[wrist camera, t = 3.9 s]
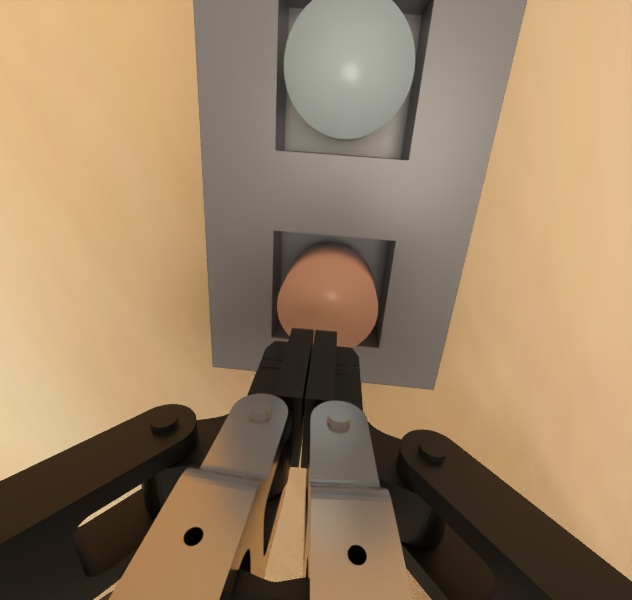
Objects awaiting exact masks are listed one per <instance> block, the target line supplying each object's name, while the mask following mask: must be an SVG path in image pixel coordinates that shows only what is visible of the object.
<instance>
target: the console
mask: <svg viewBox="0 0 632 600" xmlns="http://www.w3.org/2000/svg"><path fill="white" fill-rule="evenodd" d="M311 1H312V0H193V6H194V25H195V44H196V62H197V81H198V100H199V118H200V137H201V156H202V175H203V193H204V212H205V231H206V249H207V268H208V287H209V306H210V324H211V343H212V362H213V367H220V368H229V369H239V370H249V371H257V369H258V368H259V364H260V361H261V360H262V356H263V354H264V351H265V348H267V347H268V346H269V345H270V344H272V343H273V342H274V341H283V342H288V340H289V335H288V334H287V333H286V332H285V330H284V329H283V327H282V325H281V323H280V320H279V317H278V312H277V300H278V295H279V292H280V289H281V287H282V285H283V283H284V281H285V279H286V276H287V274H288V272H289V270H290V268H291V266H292V264H293V263H294V261H295V260H296V258H297V257H298V256H299V255H300V254H301V253H303V252H304V251H305V250H307V249H309V248H311V247H313V246H316V245H319V244H325V243H335V244H341V245H344V246H347V247H349V248H351V249H353V250H355V251H356V252H358V253H359V254H360V255H361V256H362V257H363V258H364V259H365V261H366V262H367V263H368V265H369V267H370V269H371V272H372V275H373V280H374V285H375V290H376V295H377V300H378V316H377V320H376V323H375V325H374V327H373V329H372V331H371V332H370V334H369V335H368V336H367V337H366V338H365V339H364V340H363V341H362V342H361V343H360V344H358V345H357V346H355V347H353V350H354V351H355V352H356V354H357V355H358V356H359V364H360V378H361V382H363V383H373V384H382V385H392V386H401V387H411V388H420V389H430V390H434V387H435V382H436V378H437V374H438V370H439V366H440V362H441V357H442V353H443V349H444V345H445V341H446V337H447V332H448V328H449V324H450V320H451V316H452V312H453V307H454V303H455V299H456V295H457V291H458V287H459V282H460V278H461V274H462V270H463V266H464V262H465V257H466V253H467V249H468V245H469V241H470V237H471V232H472V228H473V224H474V220H475V216H476V212H477V207H478V203H479V199H480V195H481V191H482V187H483V182H484V178H485V174H486V170H487V166H488V162H489V157H490V153H491V149H492V145H493V141H494V137H495V132H496V128H497V124H498V120H499V116H500V112H501V107H502V103H503V99H504V95H505V91H506V87H507V82H508V78H509V74H510V70H511V66H512V62H513V57H514V53H515V49H516V45H517V41H518V37H519V32H520V28H521V24H522V20H523V16H524V12H525V7H526V3H527V0H392V1H393V2H394V3H395V4H396V5H397V6H398V8H399V9H400V10H401V12H402V13H403V15H404V16H405V18H406V20H407V22H408V24H409V27H410V29H411V32H412V36H413V40H414V47H415V69H414V75H413V80H412V84H411V87H410V90H409V92H408V94H407V97H406V99H405V101H404V102H403V104H402V106H401V107H400V109H399V110H398V111H397V113H396V114H395V115H394V116H393V117H392V118H391V119H390V120H389V121H388V122H387V123H386V124H385V125H383V126H382V127H381V128H379V129H378V130H376V131H374V132H373V133H371V134H369V135H367V136H365V137H363V138H359V139H355V140H338V139H334V138H330V137H328V136H326V135H324V134H322V133H320V132H319V131H317V130H316V129H314V128H313V127H311V126H310V125H309V124H308V123H307V122H306V121H305V120H304V119H303V118H302V117H301V116H300V115H299V113H298V112H297V110H296V109H295V107H294V105H293V103H292V101H291V99H290V96H289V94H288V91H287V87H286V83H285V77H284V53H285V48H286V43H287V40H288V37H289V34H290V31H291V29H292V27H293V25H294V23H295V21H296V19H297V18H298V16H299V15H300V13H301V12H302V11H303V9H304V8H305V7H306V6H307V5H308V4H309V3H310V2H311Z"/></svg>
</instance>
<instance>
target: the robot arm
mask: <svg viewBox="0 0 632 600" xmlns="http://www.w3.org/2000/svg"><path fill="white" fill-rule="evenodd" d="M313 338H314V343H313ZM302 438H303V441H302ZM301 445H302V457H301V468H307V475H306V489H305V511H304V548H303V578H299V579H293V580H287V581H282V582H270V581H267V580H265V579H264V577H265V571H266V566H267V562H268V558H269V554H270V550H271V546H272V542H273V538H274V534H275V530H276V527H277V523H278V519H279V515H280V511H281V507H282V503H283V499H284V495H285V486H286V484H287V481H288V476H289V470H290V467H299V460H300V452H301ZM140 484H141V486H142V489H140V490H139V491H137V492H135V493H134V494H132V495H131V496H129V497H127V498H126V499H124V500H123V501H121V502H119V503H118V504H116V505H115V506H113V507H111V508H110V509H108V510H106V511H105V512H103V513H102V514H100V515H98V516H97V517H95V518H94V519H92V520H90V521H89V522H87V523H86V524H84V525H82V526H80V527H78V526H79V525H80V524H81V522H82V521H83V520H84V519H86V518H87V517H88V516H90V515H91V514H93V513H94V512H96V511H98V510H99V509H101V508H102V507H104V506H106V505H107V504H109V503H111V502H112V501H114V500H116V499H117V498H119V497H120V496H122V495H124V494H125V493H127V492H129V491H130V490H132V489H134V488H135V487H137V486H138V485H140ZM77 527H78V528H77ZM406 568H407V569H408V571H409V572H410V573H411V574H412V576H413V577H414V578H415V579H416V581H417V582H418V583H419V584H420V586H421V587H422V588H423V589H424V590H425V592H426V593H427V594H428V595H429V597H430V598H431V599H432V600H632V581H630V580H629V579H628V578H627V577H625V576H624V575H623V574H621V573H620V572H619V571H618V570H616V569H615V568H614V567H612V566H611V565H610V564H609V563H607V562H606V561H605V560H604V559H602V558H601V557H600V556H598V555H597V554H596V553H595V552H593V551H592V550H591V549H590V548H588V547H587V546H586V545H584V544H583V543H582V542H581V541H579V540H578V539H577V538H575V537H574V536H573V535H572V534H570V533H569V532H568V531H567V530H565V529H564V528H563V527H561V526H560V525H559V524H558V523H556V522H555V521H554V520H553V519H551V518H550V517H549V516H547V515H546V514H545V513H544V512H542V511H541V510H540V509H538V508H537V507H536V506H535V505H533V504H532V503H531V502H530V501H528V500H527V499H526V498H524V497H523V496H522V495H521V494H519V493H518V492H517V491H515V490H514V489H513V488H512V487H510V486H509V485H508V484H507V483H505V482H504V481H503V480H501V479H500V478H499V477H498V476H496V475H495V474H494V473H493V472H491V471H490V470H489V469H487V468H486V467H485V466H484V465H482V464H481V463H480V462H478V461H477V460H476V459H475V458H473V457H472V456H471V455H470V454H468V453H467V452H466V451H464V450H463V449H462V448H461V447H459V446H458V445H457V444H455V443H454V442H453V441H452V440H450V439H449V438H447V437H446V436H444V435H442V434H440V433H437V432H434V431H430V430H414V431H411V432H409V433H407V434H406V435H405V436H404V437H403V438H402V440H401V439H398V438H395V437H393V436H390V435H387V434H385V433H383V432H381V431H379V430H377V429H376V428H374V427H373V426H372V425H371V424H370V423H369V422H368V421H367V418H366V416H365V414H364V413H363V407H362V392H361V378H360V364H359V356H358V355H357V354H356V352H355V351H354V350H353V348H350V347H339V346H337V331H326V330H315V337H314V329H302V328H292V330H291V333H290V337H289V340H288V342H283V341H274V342H273V343H272V344H270V345H269V346H268V347H267V348H265V351H264V354H263V356H262V360H261V361H260V364H259V368H258V369H257V372H256V374H255V377H254V380H253V382H252V385H251V388H250V390H249V393H248V395H247V396H246V397H244V398H242V399H240V400H239V401H237V402H236V403H235V405H234V406H233V407H232V409H231V411H230V413H229V414H227V415H225V416H221V417H216V418H210V419H203V420H196V415H195V413H194V412H193V411H192V410H191V409H190V408H188V407H186V406H183V405H178V404H168V405H162V406H158V407H155V408H153V409H150V410H148V411H146V412H144V413H142V414H140V415H138V416H136V417H134V418H132V419H130V420H127V421H125V422H123V423H121V424H119V425H117V426H115V427H113V428H111V429H109V430H107V431H104V432H102V433H100V434H98V435H96V436H94V437H92V438H90V439H88V440H86V441H84V442H81V443H79V444H77V445H75V446H73V447H71V448H69V449H67V450H65V451H63V452H61V453H58V454H56V455H54V456H52V457H50V458H48V459H46V460H44V461H42V462H40V463H37V464H35V465H33V466H31V467H29V468H27V469H25V470H23V471H21V472H19V473H17V474H14V475H12V476H10V477H8V478H6V479H4V480H2V481H0V600H93V599H95V598H96V597H97V596H99V595H100V594H101V593H102V592H104V591H105V590H106V589H108V588H109V587H110V586H112V585H113V584H114V583H116V582H117V581H118V580H119V579H120V581H119V583H118V584H117V586H116V588H115V589H114V591H112V592H110V593H109V594H107V595H106V596H104V597H103V598H101V599H100V600H413V598H412V593H411V589H410V584H409V579H408V575H407V570H406Z"/></svg>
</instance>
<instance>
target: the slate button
mask: <svg viewBox="0 0 632 600" xmlns="http://www.w3.org/2000/svg"><path fill="white" fill-rule="evenodd" d="M414 69H415V47H414V40H413V36H412V32H411V29H410V27H409V24H408V22H407V20H406V18H405V16H404V15H403V13H402V12H401V10H400V9H399V8H398V6H397V5H396V4H395V3H394V2H393V1H392V0H312V1H311V2H310V3H309V4H308V5H307V6H306V7H305V8H304V9H303V11H302V12H301V13H300V15H299V16H298V18H297V19H296V21H295V23H294V25H293V27H292V29H291V31H290V34H289V37H288V40H287V43H286V48H285V53H284V77H285V83H286V87H287V91H288V94H289V96H290V99H291V101H292V103H293V105H294V107H295V109H296V110H297V112H298V113H299V115H300V116H301V117H302V118H303V119H304V120H305V121H306V122H307V123H308V124H309V125H310V126H311V127H313V128H314V129H316V130H317V131H319V132H320V133H322V134H324V135H326V136H328V137H330V138H334V139H338V140H355V139H359V138H363V137H365V136H367V135H369V134H371V133H373V132H374V131H376V130H378V129H379V128H381V127H382V126H383V125H385V124H386V123H387V122H388V121H389V120H390V119H391V118H392V117H393V116H394V115H395V114H396V113H397V111H398V110H399V109H400V107H401V106H402V104H403V102H404V101H405V99H406V97H407V94H408V92H409V90H410V87H411V84H412V80H413V75H414Z"/></svg>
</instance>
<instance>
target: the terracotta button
mask: <svg viewBox="0 0 632 600" xmlns="http://www.w3.org/2000/svg"><path fill="white" fill-rule="evenodd" d="M277 312H278V317H279V320H280V323H281V325H282V327H283V329H284V330H285V332H286V333H287V334H288V335H289V337H290V333H291V330H292V328H302V329H314V337H315V330H326V331H337V346H339V347H350V348H353V347H355V346H357V345H358V344H360V343H361V342H362V341H363V340H364V339H365V338H366V337H367V336H368V335H369V334H370V332H371V331H372V329H373V327H374V325H375V323H376V320H377V316H378V300H377V295H376V290H375V285H374V280H373V275H372V272H371V269H370V267H369V265H368V263H367V262H366V261H365V259H364V258H363V257H362V256H361V255H360V254H359V253H358V252H356V251H355V250H353V249H351V248H349V247H347V246H344V245H341V244H335V243H325V244H319V245H316V246H313V247H311V248H309V249H307V250H305V251H304V252H303V253H301V254H300V255H299V256H298V257H297V258H296V260H295V261H294V263H293V264H292V266H291V268H290V270H289V272H288V274H287V276H286V279H285V281H284V283H283V285H282V287H281V289H280V292H279V295H278V300H277ZM313 343H314V338H313Z"/></svg>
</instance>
